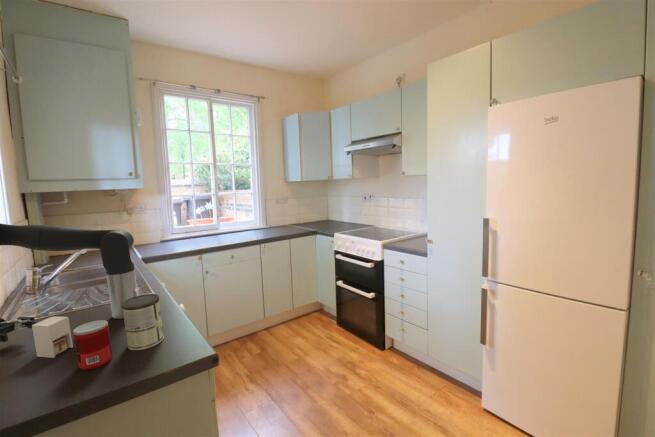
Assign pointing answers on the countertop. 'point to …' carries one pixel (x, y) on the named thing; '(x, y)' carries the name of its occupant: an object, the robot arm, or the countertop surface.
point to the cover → (51, 335)
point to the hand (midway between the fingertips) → (22, 331)
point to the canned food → (92, 344)
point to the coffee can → (142, 321)
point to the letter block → (59, 345)
